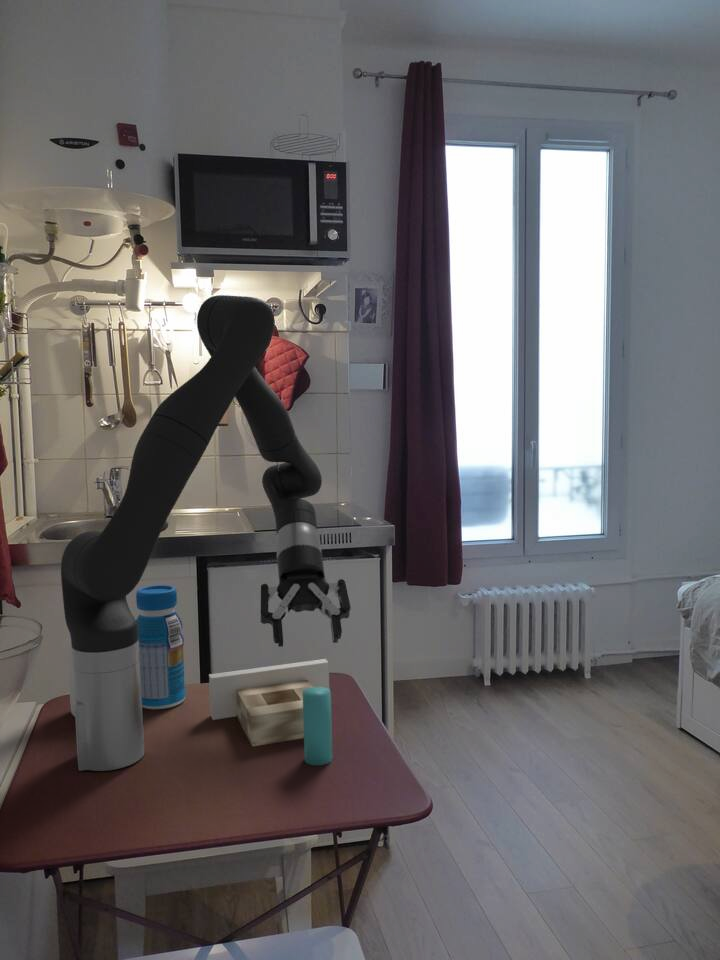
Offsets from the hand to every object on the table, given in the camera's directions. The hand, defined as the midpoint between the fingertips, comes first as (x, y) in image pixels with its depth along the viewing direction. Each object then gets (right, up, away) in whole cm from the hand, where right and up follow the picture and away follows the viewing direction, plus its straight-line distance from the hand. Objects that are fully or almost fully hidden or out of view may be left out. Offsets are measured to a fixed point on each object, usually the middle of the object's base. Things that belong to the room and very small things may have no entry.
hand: (308, 642), depth 122 cm
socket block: (-5, -14, +4) cm, 15 cm away
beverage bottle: (-27, -14, +15) cm, 33 cm away
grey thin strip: (-37, -14, +11) cm, 41 cm away
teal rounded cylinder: (+2, -15, -9) cm, 18 cm away
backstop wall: (-7, -13, +11) cm, 18 cm away
